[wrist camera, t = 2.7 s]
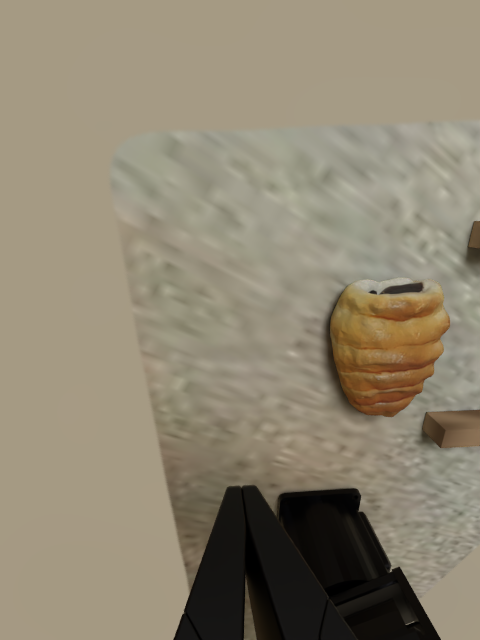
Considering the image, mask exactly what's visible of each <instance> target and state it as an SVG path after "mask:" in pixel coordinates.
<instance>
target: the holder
mask: <svg viewBox="0 0 480 640" xmlns="http://www.w3.org/2000/svg"><path fill="white" fill-rule="evenodd" d="M468 247H473V248H480V221H474V225H473V229H472V233H471V237H470V241H469V245H468ZM422 429H423V430H424V431H425V432H426V433H427V434H428V436H429V437H430V438H431V439H432V440H433V441H434V442H435V443H436V444H437V445H438V446H439V447H440V448H451V447H469V446H480V410H468V411H446V412H426V416H425V420H424V424H423V428H422Z"/></svg>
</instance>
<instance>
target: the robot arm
mask: <svg viewBox="0 0 480 640" xmlns="http://www.w3.org/2000/svg"><path fill="white" fill-rule="evenodd" d="M360 500H361V495H360V493H359V491H358V490H357V489H339V490H324V491H309V492H294V493H284V494H281V495H280V496H279V502H278V515H277V517H276V515H275V514H274V512H273V511H272V509H271V508H270V506H269V505H268V503H267V502H266V500H265V499H264V497H263V496H262V494H261V493H260V491H259V489H258V488H257V487H256V486H255V485H244V486H242V488H241V487H240V486H229V487H227V489H226V491H225V494H224V497H223V500H222V503H221V506H220V509H219V512H218V514H217V517H216V520H215V523H214V526H213V529H212V532H211V534H210V537H209V540H208V543H207V546H206V549H205V552H204V555H203V557H202V560H201V563H200V566H199V569H198V572H197V575H196V578H195V580H194V583H193V586H192V589H191V592H190V595H189V598H188V600H187V603H186V606H185V609H184V614H183V615H182V617H181V620H180V623H179V626H178V629H177V631H176V634H175V637H174V639H173V640H244V611H245V575H246V580H247V586H248V592H249V598H250V603H251V609H252V615H253V620H254V626H255V632H256V638H257V640H441V639H440V637H439V635H438V634H437V632H436V630H435V628H434V627H433V625H432V623H431V621H430V619H429V618H428V616H427V614H426V613H425V611H424V609H423V607H422V605H421V604H420V602H419V600H418V598H417V596H416V595H415V593H414V591H413V589H412V588H411V586H410V584H409V582H408V581H407V579H406V577H405V575H404V574H403V572H402V570H401V568H400V567H397V568H395V569H392V572H390V569H391V563H390V561H389V559H388V557H387V555H386V553H385V551H384V550H383V548H382V546H381V544H380V542H379V540H378V538H377V536H376V534H375V532H374V530H373V528H372V526H371V524H370V522H369V520H368V518H367V516H366V515H365V514H364V513H363V512H358V511H359V506H360ZM389 572H390V573H389ZM413 621H414V622H413ZM411 622H413V623H411ZM408 623H411V624H408ZM406 624H408V625H406Z"/></svg>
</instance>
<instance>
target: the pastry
mask: <svg viewBox="0 0 480 640" xmlns="http://www.w3.org/2000/svg"><path fill="white" fill-rule="evenodd" d="M443 301H444V295H443V292H442V288H441V285H440V284H439V283H438V282H435V281H433V280H431V279H427V280H422V281H412V280H411V279H410V278H395V279H391V280H385V281H382V282H375V281H374V280H368V279H366V280H359V281H355V282H353V283H352V284H350V285H349V286H347V287H346V289H345V290H344V291H343V293H342V295H341V296H340V298H339V300H338V303H337V305H336V307H335V309H334V311H333V314H332V316H331V322H330V336H331V340H332V348H333V356H334V361H335V364H336V368H337V371H338V375H339V378H340V382H341V386H342V389H343V391H344V393H345V395H346V396H347V398H348V400H349V403H350V404H351V405H352V406H353V407H355V408H356V409H357V410H359V411H360V412H362V413H364V414H366V415H383V416H386V417H394V416H395V415H396V414H397V413H398V412H399V411H401V410H403V409H404V408H405V407H407V406H408V405H409V404H410V402H411V401H412V399H413V398H414V397H415V395H417V394H419V393H421V392H422V389H423V383H424V380H425V379H427V378H428V377H431V376H432V375H433V374H434V362H435V361H436V360H437V359H438V358H439V356H440V355H442V353H443V351H444V348H443V344H442V342H441V341H440V337H441V336H442V335H443V334H444V333H445V332H446V331H447V330H448V329H449V327H450V318H449V316H448V314H447V312H446V311H445V309H444V306H443Z"/></svg>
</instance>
